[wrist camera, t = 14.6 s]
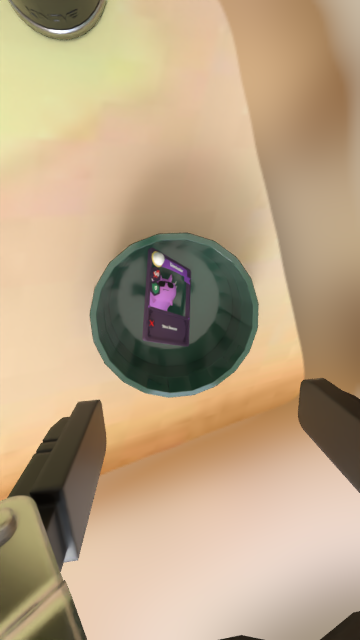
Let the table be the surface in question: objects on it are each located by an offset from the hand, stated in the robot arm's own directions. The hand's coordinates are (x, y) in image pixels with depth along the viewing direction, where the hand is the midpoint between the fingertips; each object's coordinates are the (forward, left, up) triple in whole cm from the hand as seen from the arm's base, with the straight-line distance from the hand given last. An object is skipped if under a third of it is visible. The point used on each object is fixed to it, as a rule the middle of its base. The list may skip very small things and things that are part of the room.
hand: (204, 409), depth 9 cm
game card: (0, 0, -19) cm, 19 cm away
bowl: (0, 0, -21) cm, 21 cm away
